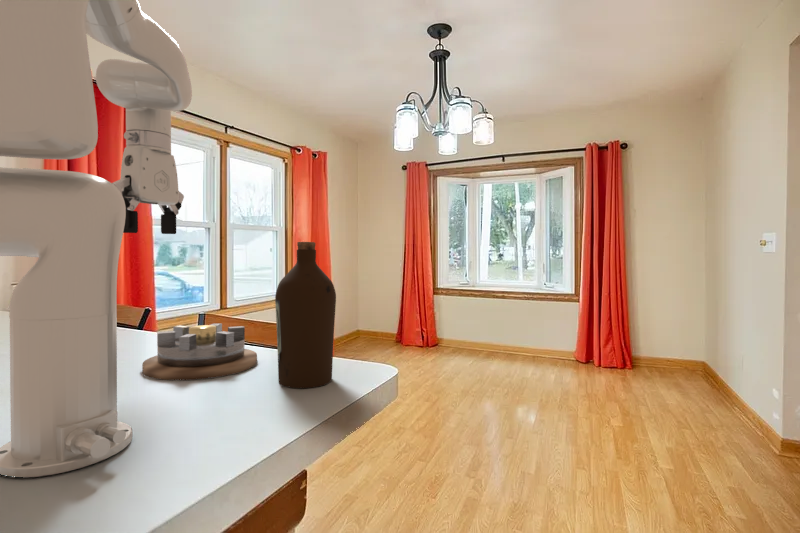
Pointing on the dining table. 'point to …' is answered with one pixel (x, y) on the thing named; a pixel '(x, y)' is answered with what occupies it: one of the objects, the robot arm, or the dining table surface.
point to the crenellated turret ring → (200, 345)
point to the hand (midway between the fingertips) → (150, 233)
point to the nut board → (198, 368)
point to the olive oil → (305, 323)
